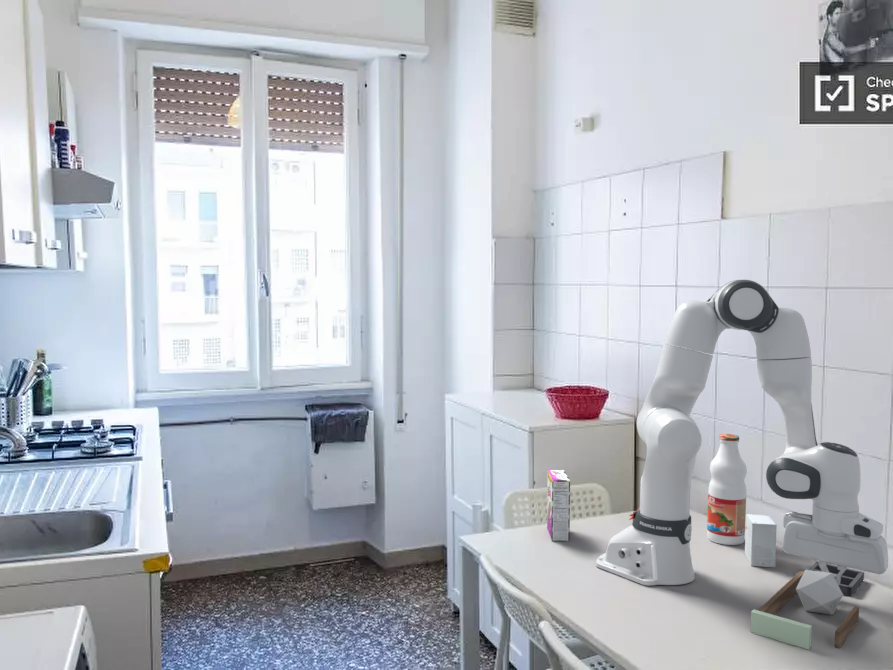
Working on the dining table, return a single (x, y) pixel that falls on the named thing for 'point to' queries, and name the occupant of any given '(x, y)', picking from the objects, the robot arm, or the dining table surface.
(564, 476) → the candy bar box
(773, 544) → the small box
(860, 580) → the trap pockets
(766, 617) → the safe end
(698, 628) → the dining table surface
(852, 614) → the lane walls
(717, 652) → the dining table surface
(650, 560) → the robot arm
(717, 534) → the fruit juice
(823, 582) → the die
